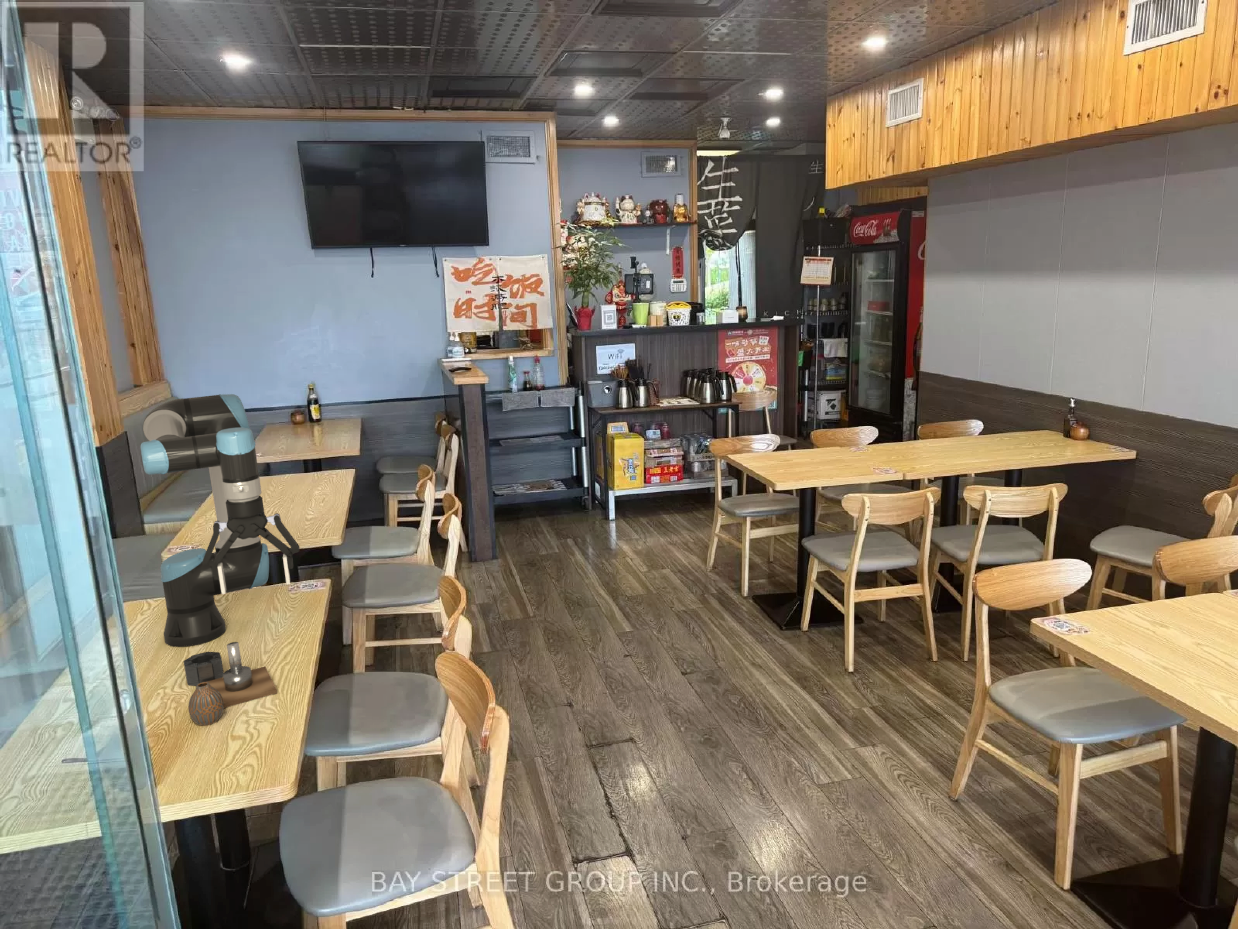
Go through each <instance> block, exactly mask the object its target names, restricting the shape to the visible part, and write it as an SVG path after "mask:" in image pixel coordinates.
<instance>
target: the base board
mask: <svg viewBox="0 0 1238 929" xmlns="http://www.w3.org/2000/svg"><path fill="white" fill-rule="evenodd" d="M251 673H252V680H253V684H252V685H251V686H250V687H249V688H247V689H244V690H241V691H236V692H229V691H226V690H225V685H224V678H223V677H222V678H219V679H215V680H211V681H207V682H208V683H209V684H210V685H211V686H212V687H213V688H215V689H216V690H217V691H219V693H220V694H221V696H222V698H223V702H224V709H226V708H229V707H231V706H235V705H236V706H237V705H239V704H243V703H247V702H250V701H254V700H257V699H262V698H264V697H268V696H271V695H275V694H277V693H278V691H277V686H276V685H275V683H274V681H273V680H272V677H271V675H270V673H269V672H268V669H267V668H266V666H261V667H257V668H253V669H251Z"/></svg>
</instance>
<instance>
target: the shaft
mask: <svg viewBox="0 0 1238 929" xmlns="http://www.w3.org/2000/svg"><path fill="white" fill-rule="evenodd" d="M226 649H227V654H228V661H229V662H228V664H229V667H230V668H229V669H226V670H225V671H224V673H223V678H224V685H225V690H226V691H229V692H236V691H241V690H244V689H247V688H249V687H250V686H251V685H252V684H253V680H252V673H251V670H252V668H251V667H250V666H247V665H243V662H242V656H241V650H240V644H239V642H238V641H233V642H230V643H227V644H226Z"/></svg>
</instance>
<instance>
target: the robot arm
mask: <svg viewBox="0 0 1238 929" xmlns="http://www.w3.org/2000/svg"><path fill="white" fill-rule="evenodd" d="M142 428H143V429H142V430H143V435H144V436H145V438H146V439H147V441H143V442H141V444H140V454H141V460H142V465H143V470H144V473H145V474H146V475H149V476H150V475H165V474H169V473H176V472H184V471H191V470H198V469H200V470H201V469H208V472H209V479H210V484H211V489H212V490H211V491H212V496H213V503H214V504H213V505H214V510H215V516H216V520H215V521H214V523H213V526H212V530H213V532H212V533H213V534H212V535H211V538H210V541H209V544H208V545H207V548H206V549H205V548H201V547H199V548H192V549H191V548H190V549H186V550H182V551H180V552H177V553H174V554H173V555H171V556H169V557H166V558H165V559H164V560H163V561H162V563H161V564H160V582H162V587H163V594H164V601H165V607H166V613H167V615H166V620H165V621H166V622H165V625H164V631H163V638H164V643H165V645H167V644H168V645H167V646H169V645H170V647H178V648H181V647H182V648H183V647H184V648H185V647H191V646H198V645H202V644H204V643H205V644H206V643H208V642H211V641H214V640H216V639H218V638H220V637H221V636H222V635H223V634H225V633H226V630H227V626H226V621H225V619H224V617H223V615H222V613H221V612H220V610H219V609H218V607H217V605H216V603H215V597H214V596H217V595H218V596H219V595H225V594H228V593H234V592H240V591H243V590H251V589H253V588H256V587H260V586H261V587H262V586H264V585H265V584H266V583H267V582H268V579H269V575H270V574H269V573H270V556H269V547H268V545H267V544H266V543H263V542H262V541H261V540H262V539H261V538H263V539H265V540H266V541H267V542H269V543H270V544H271V545H272V546H274V547H275V548H276V549H278V550H279V551H280V552H281V553H283V554H282V560H283V568H284V575H285V583H286V585H291V576H290V570H293V569H294V559H293V555H294V554H296V553H299V552H300V548H301V547H300V545H299V543H298V542H297V541H296V538H294V537H293V535H292V534H291V533H290V531H289V530H288V529H287V527H286V526H285V524H284V523H283V522H282V520H281V515H280V513H278V512H277V513H274V515H270V516H266V513H265V509H264V508H265V507H264V500H263V497H262V496H261V495H262V486H261V479H260V473H259V468H258V467H259V466H258V460H257V459H258V458H257V452H256V451H257V450H256V441H255V437H254V432H253V430H252V429H251V428H250V423H249V419H248V416H247V413H246V410H245V406H244V404H243V401H242V400H241V398H240V396H238V395H237V394H232V393H231V394H230V393H229V394H228V393H227V394H226V393H225V394H224V393H223V394H211V395H207V396H205V395H204V396H195V397H194V396H193V397H186V398H185V397H184V398H183V397H182V398H176V399H172V400H169V401H166V402H164V403H161V404H160V405H158V406H155V408H153V409H152V410H151V411H149V413H148V414H147V415H146V416H145V417H144V420H143V425H142ZM268 523H270V524H271V525H272V526H275V527H276V529H277V531H278V532H279V533H280V534H281V536H282V538H283V539H284V540H285V541H286V542H287V544H288V545H289V546H290V547H289V546H288V545H286V544H285V542H283V541H281V540H280V539H279V538H278V537H277V536H275V535H274V534H273V533H272V532H270V531H269V529H267V528H266V526H267V524H268ZM214 549H215V552H214Z"/></svg>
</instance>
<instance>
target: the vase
mask: <svg viewBox="0 0 1238 929" xmlns="http://www.w3.org/2000/svg"><path fill="white" fill-rule="evenodd" d="M224 709H225V708H224V702H223V698H222V696H221V694H220V693H219V691H217V690H216V689H215V688H213V687H212V686H211V685H210V684H209V683H208V682H202V683H199V684H198V685H197V686H195V689H194V691H193V693H192V694H191V696H190V697H189V701H188V712H189V713H188V714H189V717H190V719H191V721H193V722H194V723H195V724H197V725H200V726H209V725H212V724H215V723H216V722H218V721H219V720H220V718H221V717H222V715H223V713H224Z"/></svg>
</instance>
